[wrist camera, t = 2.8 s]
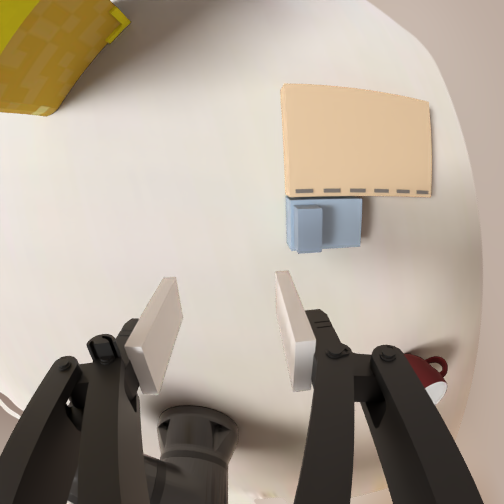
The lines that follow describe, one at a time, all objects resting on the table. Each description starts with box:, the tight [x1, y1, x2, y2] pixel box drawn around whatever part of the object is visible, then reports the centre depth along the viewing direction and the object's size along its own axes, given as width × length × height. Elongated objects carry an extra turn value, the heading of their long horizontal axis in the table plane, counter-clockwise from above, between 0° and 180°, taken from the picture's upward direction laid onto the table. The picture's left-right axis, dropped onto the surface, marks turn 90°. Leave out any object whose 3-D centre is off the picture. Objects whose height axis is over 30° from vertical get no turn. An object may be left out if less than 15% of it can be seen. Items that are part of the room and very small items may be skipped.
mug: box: [404, 354, 448, 405], centre depth 36 cm, size 10×8×10 cm
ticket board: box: [280, 84, 432, 197], centre depth 28 cm, size 18×12×3 cm, turn 93°
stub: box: [286, 196, 362, 254], centre depth 29 cm, size 8×5×5 cm
